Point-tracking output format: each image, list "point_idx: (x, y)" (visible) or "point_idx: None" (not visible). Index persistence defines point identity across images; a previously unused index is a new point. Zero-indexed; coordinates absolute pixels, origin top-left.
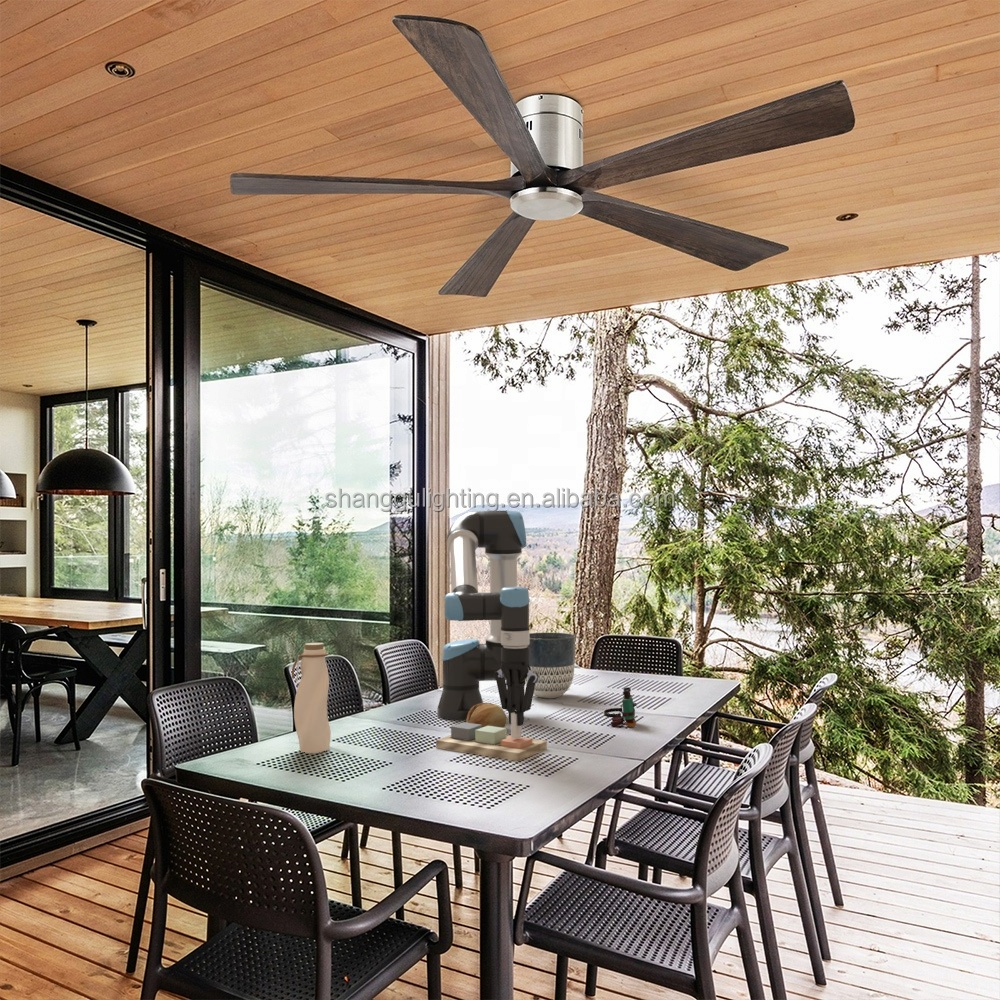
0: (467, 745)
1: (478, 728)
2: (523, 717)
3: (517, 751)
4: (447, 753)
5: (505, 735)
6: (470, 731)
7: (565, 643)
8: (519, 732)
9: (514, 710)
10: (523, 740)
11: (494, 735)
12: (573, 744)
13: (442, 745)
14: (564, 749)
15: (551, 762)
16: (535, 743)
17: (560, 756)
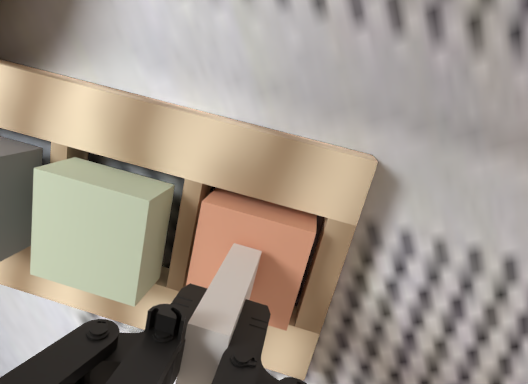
0: (69, 304)
1: (8, 185)
2: (263, 340)
3: (290, 357)
4: (32, 306)
5: (163, 200)
6: (8, 248)
7: None
8: (252, 282)
9: (179, 354)
10: (283, 277)
11: (141, 297)
12: (504, 19)
13: None
14: (464, 139)
15: (436, 348)
16: (331, 220)
17: (462, 261)
